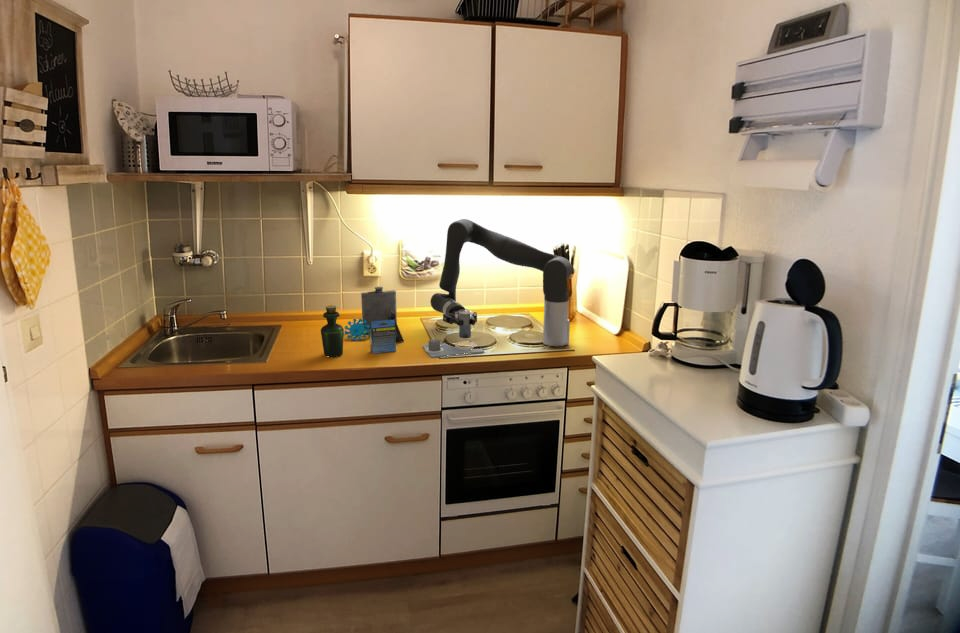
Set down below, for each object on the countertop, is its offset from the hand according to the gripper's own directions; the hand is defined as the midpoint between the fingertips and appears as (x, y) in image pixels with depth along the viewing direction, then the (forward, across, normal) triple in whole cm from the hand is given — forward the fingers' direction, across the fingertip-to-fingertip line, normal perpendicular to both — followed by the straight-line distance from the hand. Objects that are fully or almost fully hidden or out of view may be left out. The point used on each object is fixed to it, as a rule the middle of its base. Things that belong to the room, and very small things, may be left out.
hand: (467, 323), depth 233 cm
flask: (-39, -26, +11) cm, 48 cm away
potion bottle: (-10, -48, +11) cm, 50 cm away
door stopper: (-21, -25, +11) cm, 34 cm away
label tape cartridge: (-9, -30, +11) cm, 33 cm away
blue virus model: (-28, -36, +11) cm, 47 cm away
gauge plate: (-3, -5, +11) cm, 12 cm away
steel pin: (-3, 0, +6) cm, 7 cm away
